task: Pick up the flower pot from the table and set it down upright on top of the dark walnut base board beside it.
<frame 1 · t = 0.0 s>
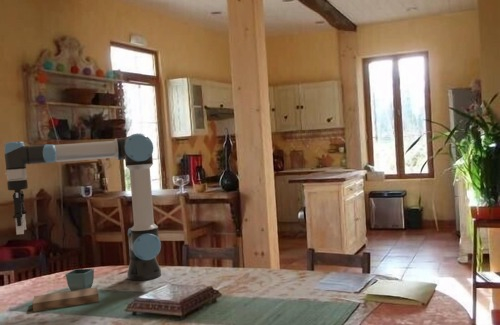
hand: (21, 232, 229), 28 cm above the table, fingers open, 13 cm apart
walnut board: (66, 302, 221), on the table
flower pot: (81, 292, 236), on the table
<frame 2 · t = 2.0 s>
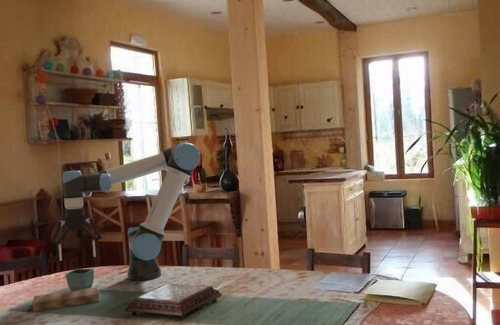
hand: (77, 258, 236), 14 cm above the table, fingers open, 13 cm apart
nothing on the table moved.
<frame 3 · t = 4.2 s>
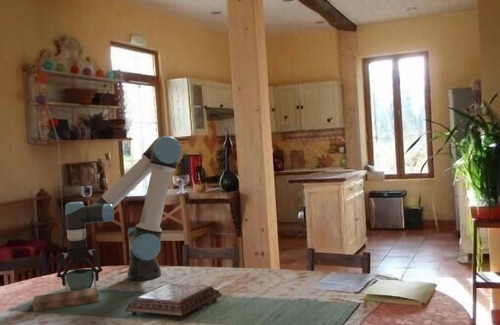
hand: (81, 291, 236), 0 cm above the table, fingers closed on flower pot, 11 cm apart
flower pot: (81, 292, 236), on the table, touching gripper
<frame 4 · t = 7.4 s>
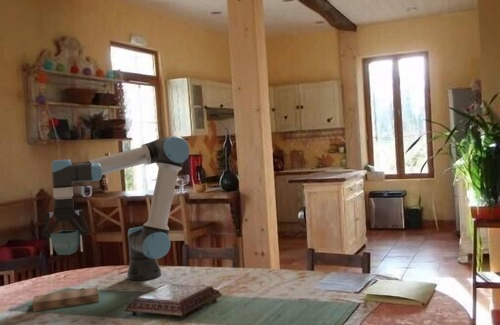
hand: (66, 252, 226), 19 cm above the table, fingers closed on flower pot, 11 cm apart
flower pot: (67, 254, 226), point 18 cm above the table, touching gripper
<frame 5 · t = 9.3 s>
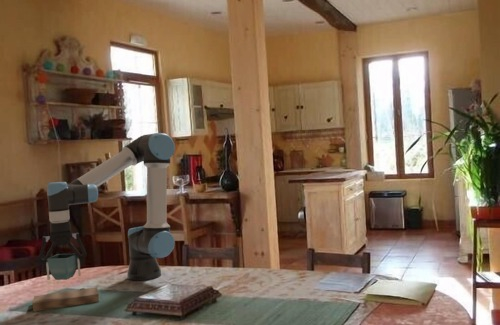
hand: (64, 277, 221), 10 cm above the table, fingers closed on flower pot, 11 cm apart
flower pot: (64, 279, 221), point 9 cm above the table, touching gripper
when the fingers open (5 cm above the table, at t = 10.8 s): flower pot drops 2 cm, resting on walnut board.
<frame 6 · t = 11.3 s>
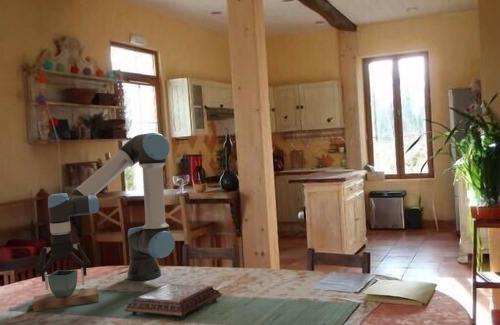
hand: (65, 286, 221), 6 cm above the table, fingers open, 13 cm apart
flower pot: (64, 295, 221), point 3 cm above the table, touching walnut board
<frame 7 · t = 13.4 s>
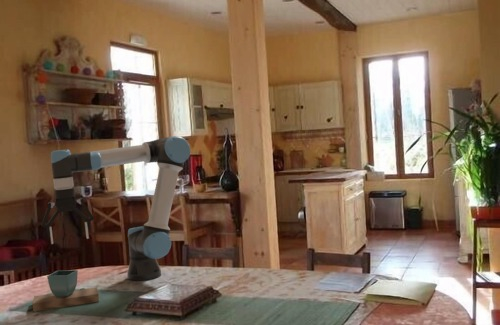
hand: (70, 241, 226), 23 cm above the table, fingers open, 13 cm apart
nothing on the table moved.
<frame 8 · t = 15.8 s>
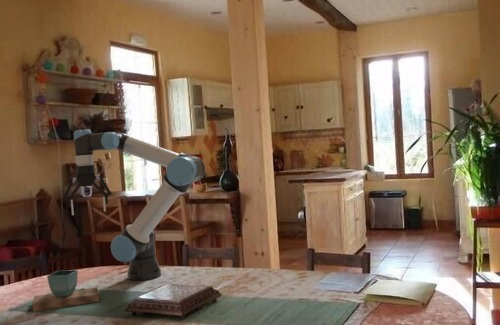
hand: (89, 213, 248), 32 cm above the table, fingers open, 13 cm apart
nothing on the table moved.
at the end: flower pot inside the target area on the walnut board (0.6 cm from its centre), point 2.8 cm above the walnut board's base; flower pot tilted 0°; flower pot touching walnut board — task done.
